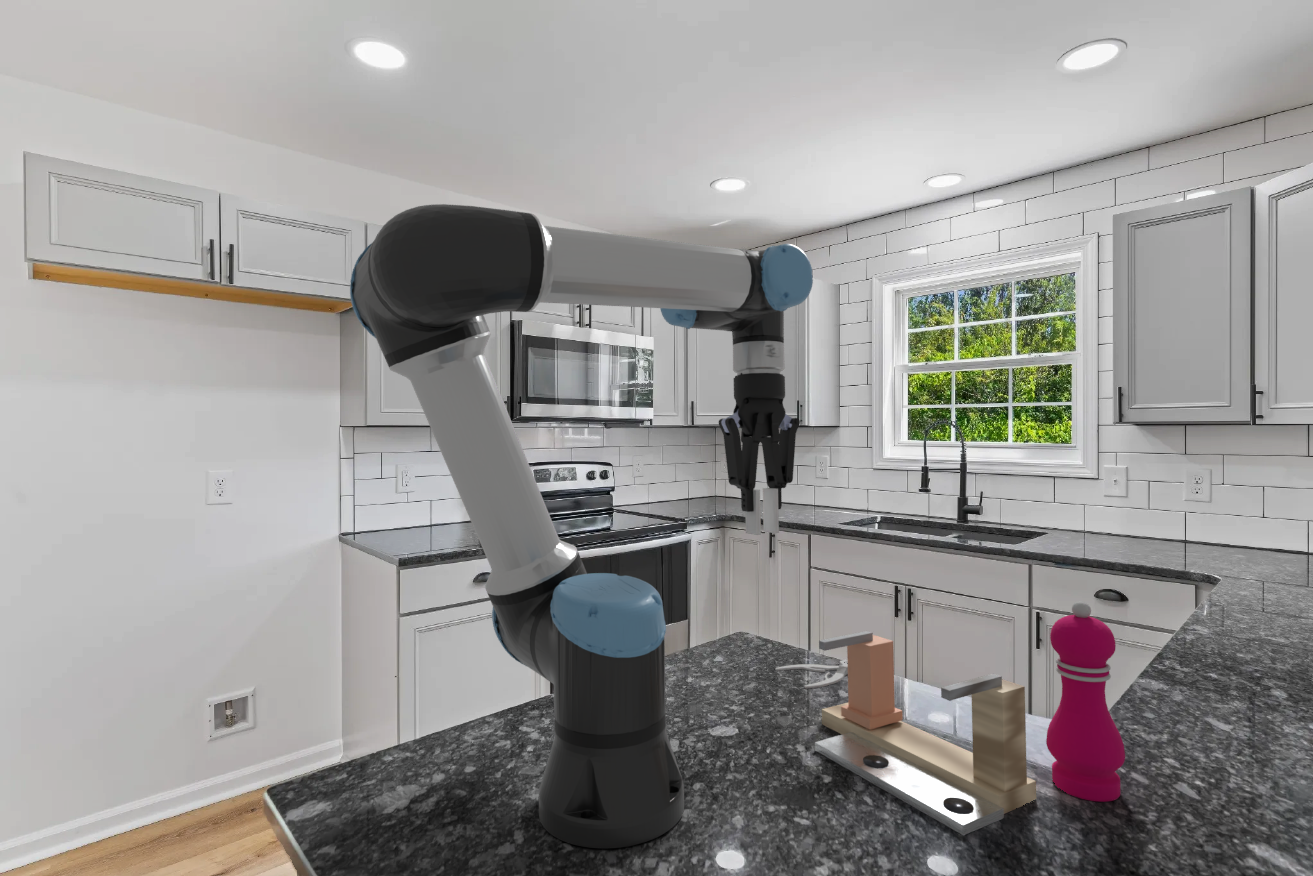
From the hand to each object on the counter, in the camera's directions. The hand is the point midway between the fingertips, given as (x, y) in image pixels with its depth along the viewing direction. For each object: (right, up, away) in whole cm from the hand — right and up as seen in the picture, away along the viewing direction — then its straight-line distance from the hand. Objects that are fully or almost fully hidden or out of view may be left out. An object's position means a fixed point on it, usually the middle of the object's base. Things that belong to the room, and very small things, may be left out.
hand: (762, 532), depth 101 cm
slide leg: (+10, -22, -14) cm, 28 cm away
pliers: (+13, -25, +11) cm, 30 cm away
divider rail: (+13, -24, -21) cm, 34 cm away
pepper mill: (+31, -24, -27) cm, 47 cm away
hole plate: (+11, -24, -25) cm, 37 cm away
